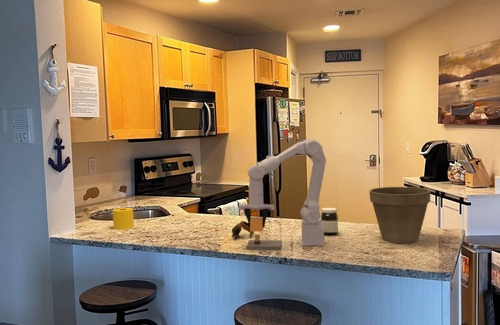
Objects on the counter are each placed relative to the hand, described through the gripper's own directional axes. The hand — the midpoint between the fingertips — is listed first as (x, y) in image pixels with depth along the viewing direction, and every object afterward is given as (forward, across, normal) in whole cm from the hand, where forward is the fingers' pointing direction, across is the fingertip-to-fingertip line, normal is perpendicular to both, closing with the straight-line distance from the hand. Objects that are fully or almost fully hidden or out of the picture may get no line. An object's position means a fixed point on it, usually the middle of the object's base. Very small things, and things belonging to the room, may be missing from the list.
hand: (257, 226), depth 190 cm
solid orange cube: (+1, 0, 0) cm, 1 cm away
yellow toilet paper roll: (+9, +73, -35) cm, 81 cm away
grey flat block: (+8, -3, 0) cm, 9 cm away
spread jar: (+9, -29, -25) cm, 39 cm away
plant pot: (+9, -60, -14) cm, 62 cm away
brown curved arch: (+9, +9, -16) cm, 20 cm away
